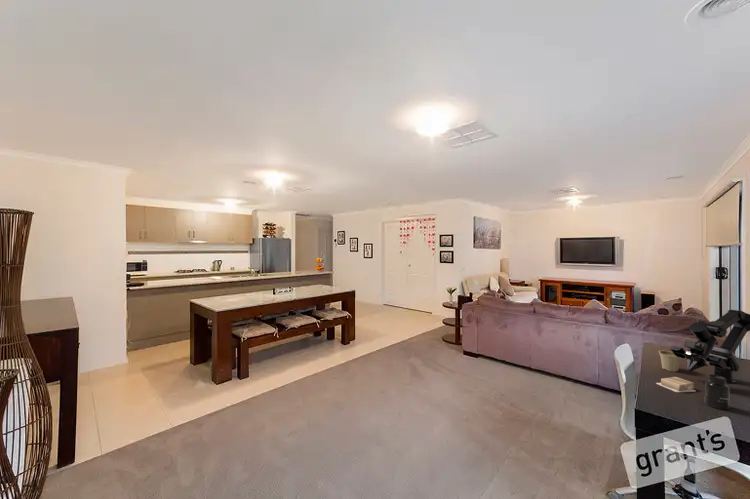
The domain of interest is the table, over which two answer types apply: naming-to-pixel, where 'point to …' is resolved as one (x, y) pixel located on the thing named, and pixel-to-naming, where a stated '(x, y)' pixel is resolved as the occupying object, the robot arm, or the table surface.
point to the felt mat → (677, 390)
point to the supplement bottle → (717, 392)
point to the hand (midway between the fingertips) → (688, 370)
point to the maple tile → (677, 383)
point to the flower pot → (669, 361)
